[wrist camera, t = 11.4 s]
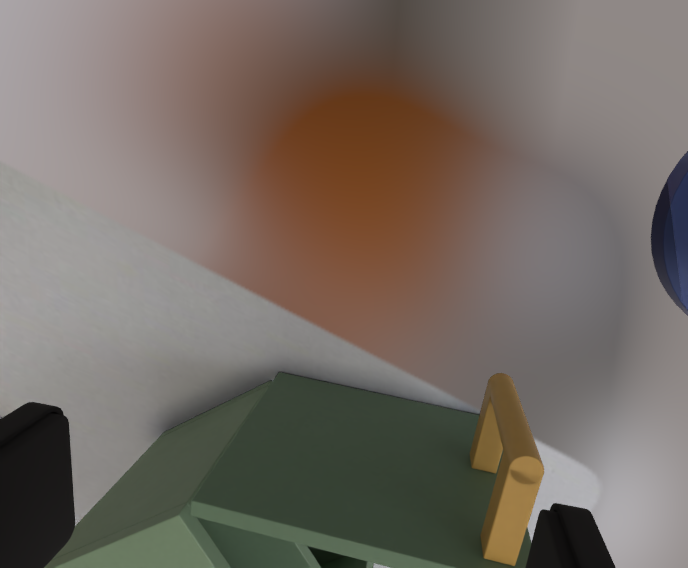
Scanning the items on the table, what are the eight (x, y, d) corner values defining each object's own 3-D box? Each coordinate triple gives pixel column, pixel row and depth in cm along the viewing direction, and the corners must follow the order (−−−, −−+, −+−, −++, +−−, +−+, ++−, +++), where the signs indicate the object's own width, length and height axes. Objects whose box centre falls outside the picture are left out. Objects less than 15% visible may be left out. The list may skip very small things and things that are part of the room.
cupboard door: (287, 300, 39) (198, 393, 24) (519, 345, 37) (581, 480, 22) (277, 382, 41) (189, 516, 26) (496, 430, 39) (538, 606, 24)
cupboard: (271, 379, 41) (178, 515, 26) (376, 547, 44) (347, 759, 28) (163, 432, 44) (24, 579, 29) (267, 585, 47) (188, 793, 32)
